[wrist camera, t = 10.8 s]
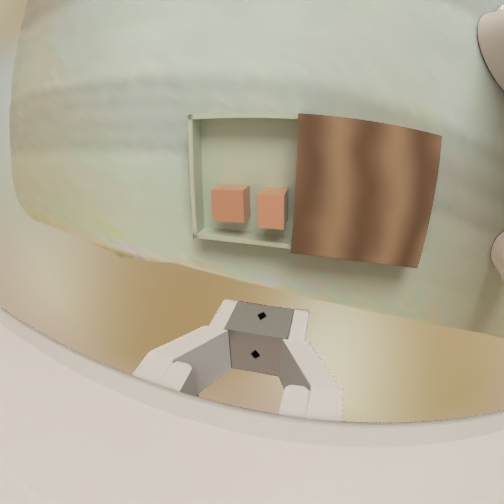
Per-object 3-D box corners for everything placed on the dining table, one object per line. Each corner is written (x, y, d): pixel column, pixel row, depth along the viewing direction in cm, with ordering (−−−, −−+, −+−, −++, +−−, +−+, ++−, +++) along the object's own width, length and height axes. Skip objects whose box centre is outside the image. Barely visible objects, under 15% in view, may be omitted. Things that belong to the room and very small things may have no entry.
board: (429, 134, 26) (441, 136, 23) (409, 253, 33) (417, 268, 30) (301, 115, 30) (298, 113, 26) (294, 239, 37) (290, 252, 33)
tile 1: (210, 189, 33) (219, 184, 35) (213, 221, 35) (221, 213, 37) (243, 190, 32) (249, 184, 35) (244, 222, 34) (250, 215, 36)
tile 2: (264, 186, 34) (288, 187, 34) (264, 216, 36) (288, 218, 35) (256, 194, 31) (283, 195, 30) (257, 227, 32) (283, 229, 32)
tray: (301, 115, 30) (298, 114, 27) (294, 239, 37) (291, 249, 34) (198, 115, 33) (187, 115, 30) (202, 229, 40) (193, 237, 37)
